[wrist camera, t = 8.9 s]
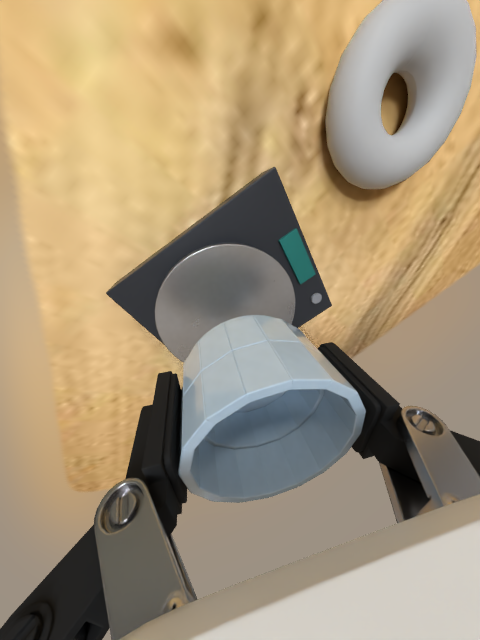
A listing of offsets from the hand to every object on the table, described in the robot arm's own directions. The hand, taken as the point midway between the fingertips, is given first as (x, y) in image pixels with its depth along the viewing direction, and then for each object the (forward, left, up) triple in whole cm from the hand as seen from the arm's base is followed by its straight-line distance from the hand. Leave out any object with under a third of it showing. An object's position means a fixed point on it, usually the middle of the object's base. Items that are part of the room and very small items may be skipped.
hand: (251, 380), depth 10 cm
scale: (-1, 0, -11) cm, 11 cm away
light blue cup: (0, 0, -1) cm, 1 cm away
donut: (-18, -5, -11) cm, 22 cm away
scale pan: (0, 0, -7) cm, 7 cm away
